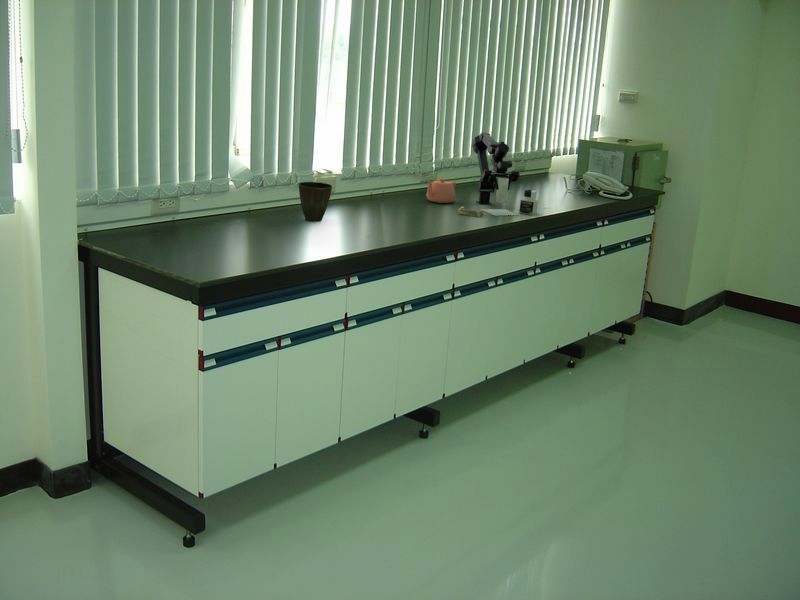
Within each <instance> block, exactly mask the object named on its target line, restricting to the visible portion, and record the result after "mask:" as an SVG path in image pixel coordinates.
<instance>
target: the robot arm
mask: <svg viewBox="0 0 800 600" xmlns="http://www.w3.org/2000/svg"><path fill="white" fill-rule="evenodd" d="M471 147H472V149H473V150H472V151H474V153H475V154H476V155H477V160H478V166H479V172H480V178H479V180H478V182H477V185H476V188H475V189H476V192H477V193H479V194H478V195H479V197H478V200H475V201H476V203H478V204H480V205H493V202H490V201H491V193H495V190H496V191H497V190H498V178H499V177H502V178H508V179H509V182H508V191H509V190H510V187H511V183H512V182H513V183H515V182H517V181H518V179H519V177H520V176H521V175H520V171H519V170H518V171H517V170H511V171H510V173H507V172H508V171H509V170H508V169H510V168H512V167H513V161H512V160H508V161H507V160H505V161H504V159H505V158H506V157H507V154H508V153H509V150H510V146H508V145H507V143H505V142H504V141H499V142H498V141H496V140H495V139H494V138H493V137H492V135H491V134H490V133H489V132H481V133H480V134H478V135H477V136H474V137H473V139H472V141H471ZM487 153H488V154H489V155H491V159H490V162H491V163H492V169H490V166H489V162H488V161H489V160H488V156H487Z"/></svg>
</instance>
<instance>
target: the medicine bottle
mask: <svg viewBox="0 0 800 600" xmlns="http://www.w3.org/2000/svg"><path fill="white" fill-rule="evenodd" d="M538 204H539V200H538V199H537V191H536V190H534V189H525V190H524V193H523V198H521V199H520V203H519V211H518V212H519V214H522V213H523V214H524V215H528V214H530V215H529V216H534V215H536V214H538V213H537V212H538V206H539V205H538Z"/></svg>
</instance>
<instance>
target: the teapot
mask: <svg viewBox="0 0 800 600" xmlns="http://www.w3.org/2000/svg"><path fill="white" fill-rule="evenodd" d="M426 182H427V191H426V198H427V199H428V200H429V201H430V202H433V203H438V204H448V203H449V204H450V203H453V202H454V201H455V200H456V191H455V189H456V186H457V182H456V181H451V182H450V181H446V178H444V177H443V178H442V177H441V178H440V177H439V180H434V181H430V180H426Z"/></svg>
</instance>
